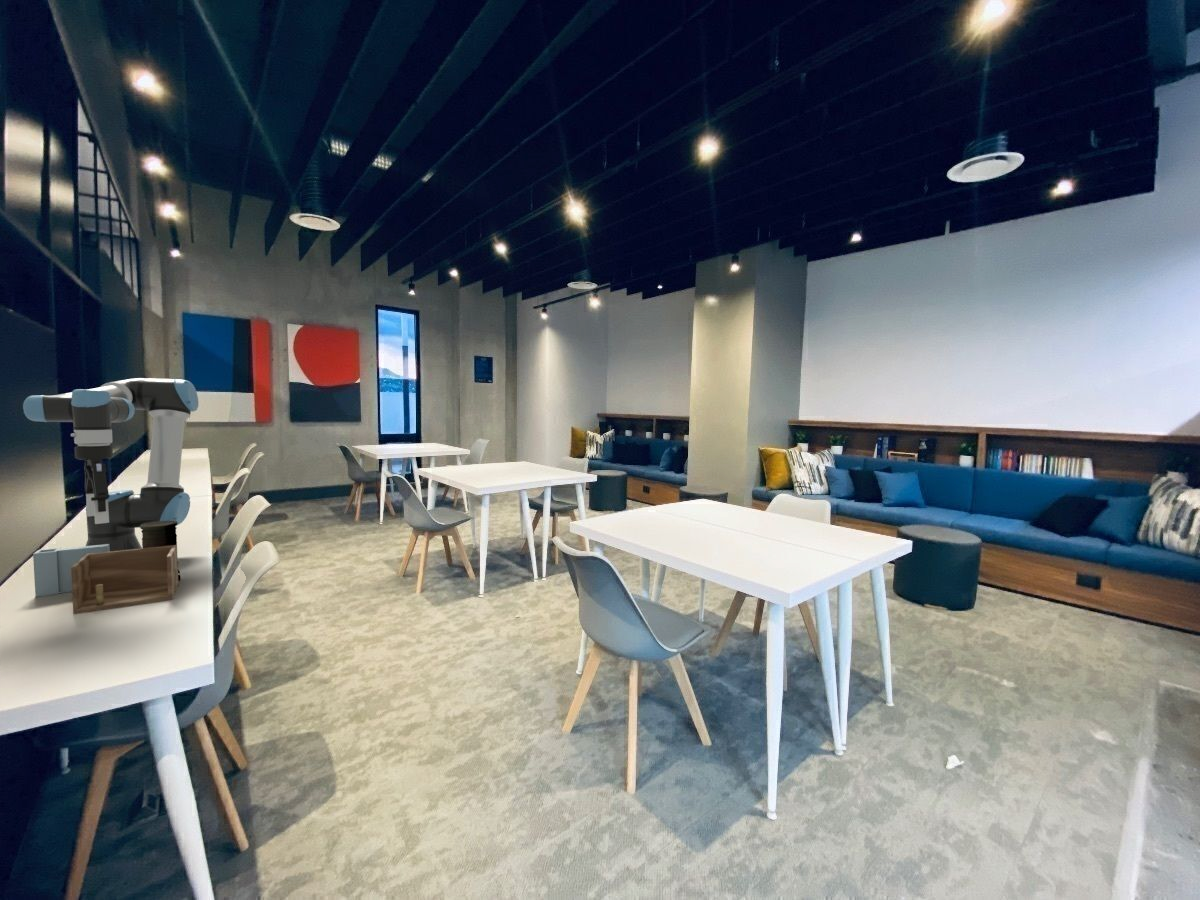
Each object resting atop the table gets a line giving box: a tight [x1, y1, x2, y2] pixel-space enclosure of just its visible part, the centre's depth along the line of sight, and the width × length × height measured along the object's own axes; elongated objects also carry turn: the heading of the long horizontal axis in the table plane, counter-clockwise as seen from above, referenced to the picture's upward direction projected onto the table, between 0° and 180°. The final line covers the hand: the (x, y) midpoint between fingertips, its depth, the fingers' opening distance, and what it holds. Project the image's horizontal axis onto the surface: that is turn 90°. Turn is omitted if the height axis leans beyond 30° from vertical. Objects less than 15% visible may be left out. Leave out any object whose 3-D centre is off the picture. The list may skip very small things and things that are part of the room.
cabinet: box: [71, 544, 179, 615], centre depth 136 cm, size 14×19×12 cm
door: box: [32, 544, 110, 598], centre depth 142 cm, size 5×14×12 cm, turn 125°
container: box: [139, 521, 182, 582], centre depth 149 cm, size 9×9×18 cm
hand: (98, 519), depth 141 cm, fingers open, 13 cm apart
